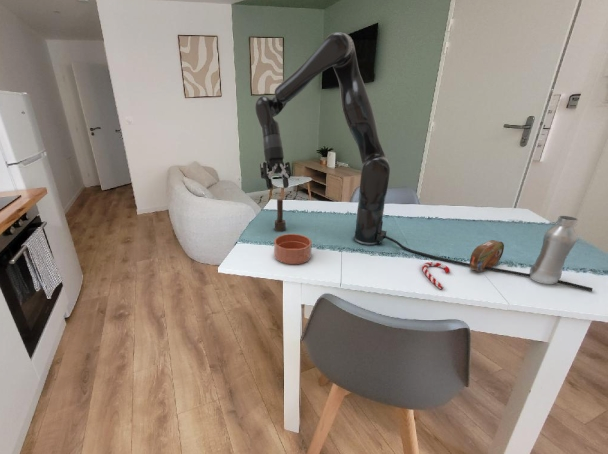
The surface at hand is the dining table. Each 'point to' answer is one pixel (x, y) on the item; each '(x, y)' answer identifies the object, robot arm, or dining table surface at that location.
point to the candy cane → (431, 275)
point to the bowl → (292, 248)
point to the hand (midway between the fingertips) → (278, 188)
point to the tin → (486, 255)
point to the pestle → (279, 217)
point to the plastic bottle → (554, 251)
